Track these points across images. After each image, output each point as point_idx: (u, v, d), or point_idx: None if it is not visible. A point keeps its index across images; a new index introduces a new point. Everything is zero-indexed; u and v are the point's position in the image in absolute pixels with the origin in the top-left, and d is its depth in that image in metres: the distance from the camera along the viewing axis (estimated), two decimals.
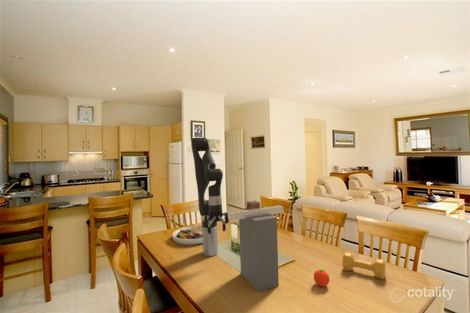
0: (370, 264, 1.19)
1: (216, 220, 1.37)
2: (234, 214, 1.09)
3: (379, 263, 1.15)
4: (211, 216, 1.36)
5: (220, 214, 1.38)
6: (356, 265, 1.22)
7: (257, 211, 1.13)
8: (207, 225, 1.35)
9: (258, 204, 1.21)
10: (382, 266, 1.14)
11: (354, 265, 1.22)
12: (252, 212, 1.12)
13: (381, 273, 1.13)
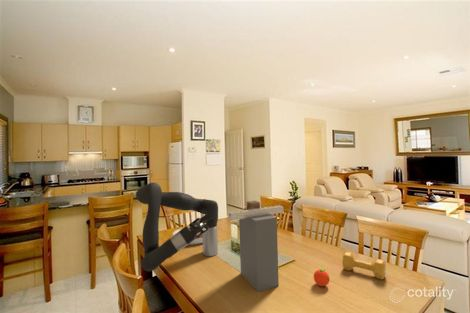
0: (370, 264, 1.18)
1: None
2: (234, 214, 1.09)
3: (379, 263, 1.14)
4: None
5: None
6: (356, 265, 1.22)
7: (257, 211, 1.13)
8: None
9: (258, 204, 1.21)
10: (381, 266, 1.13)
11: (354, 265, 1.22)
12: (252, 212, 1.12)
13: (380, 273, 1.13)
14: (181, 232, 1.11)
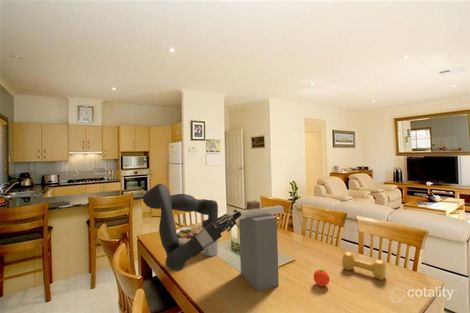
0: (370, 264, 1.18)
1: None
2: None
3: (378, 264, 1.14)
4: None
5: None
6: (356, 265, 1.22)
7: (257, 211, 1.13)
8: (228, 218, 1.12)
9: (258, 204, 1.21)
10: (381, 267, 1.13)
11: (354, 265, 1.22)
12: (252, 212, 1.12)
13: (379, 274, 1.12)
14: (207, 229, 1.04)
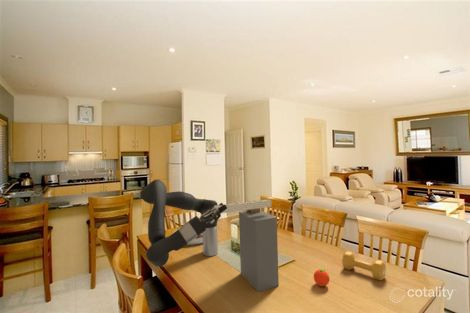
0: (369, 265, 1.18)
1: None
2: (219, 207, 1.06)
3: (377, 264, 1.14)
4: None
5: None
6: (355, 264, 1.22)
7: (244, 205, 1.10)
8: None
9: None
10: (379, 267, 1.13)
11: (354, 264, 1.23)
12: (238, 205, 1.09)
13: (378, 274, 1.12)
14: (191, 222, 1.01)
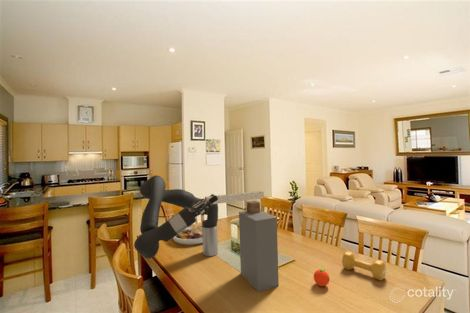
0: (369, 265, 1.18)
1: None
2: (210, 198, 1.04)
3: (377, 264, 1.14)
4: None
5: None
6: (355, 264, 1.22)
7: (235, 196, 1.09)
8: None
9: (258, 204, 1.21)
10: (379, 267, 1.13)
11: (354, 264, 1.23)
12: (229, 197, 1.08)
13: (378, 274, 1.12)
14: (181, 213, 0.99)
